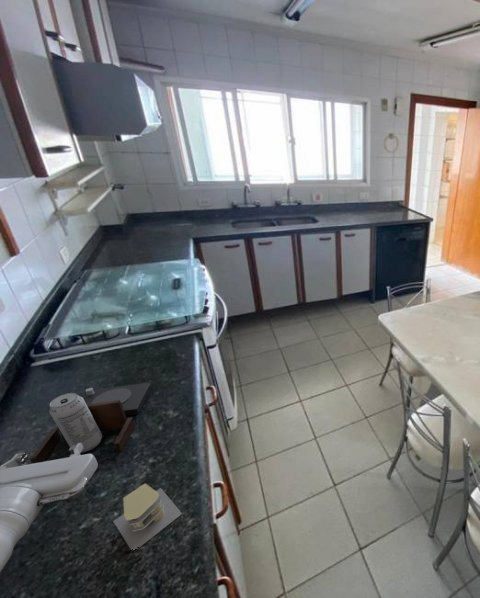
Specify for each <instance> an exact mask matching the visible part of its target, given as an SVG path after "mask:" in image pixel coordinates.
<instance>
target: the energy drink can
mask: <svg viewBox="0 0 480 598" xmlns="http://www.w3.org/2000/svg"><path fill="white" fill-rule="evenodd" d="M48 413H49V414H50V416H51V418H52V419H53V421H54V423H55V425H56V424H57V425H56V427H57V426H58V427H57V429H58V428H59V429H60V431H61V433H62V434H63V436H64V438H63V439H64V440H65V441H66V443H67V444H68V446H69V448H70V447H72V445H73V444H78V443H82V445H83V450H82V451H81V453H85V452H89V451H91V450H93V449H95V448H96V447H97V446H98V445H99V444H100V443H101V442H102V439H103V433H102V432H100V430H99V428H98V426H97V424H96V422H95V420H94V418H93V416H92V414H91V412H90V410H89V409H88V407H87V405H86V403H85V401H84V399H83V396H80V395H78V394H77V393H76V392H68V393H64V394H61V395H58V396H57V397H55V398H54V399H52V400H51V401H50V403H49V412H48ZM59 429H58V430H59ZM60 431H59V432H60ZM61 433H60V434H61Z"/></svg>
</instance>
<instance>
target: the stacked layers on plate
mask: <svg viewBox="0 0 480 598" xmlns="http://www.w3.org/2000/svg"><path fill="white" fill-rule="evenodd" d="M122 499H123V513H122V514H121V515H120V516H118V517H117V518H115V519H114V520H113V521H112V522H113V523H114V525H115V527H116V529H117V530H118V532H119V533H120V534H121V537H122V538H123V540H124V541H125V543H126V544H127V546H128V547H129V549H130V551H131V550H132V549H133V550H135V549H137V550H138V549H139V548H141V547H142V546H144V544H146V543H147V542H148V541H150V540H151V539H152V538H153V537H155V536H156V535H157V534H159V533H160V532H161V531H162V530H164V529H165V528H166V527H168V526H169V525H170V524H171V523H173V522H174V521H175V520H176V519H178V518H179V517H180V516H181V515H183V513H182V512H181V510H180V509H179V508H178V507H177V506H176V504H175V503H174V502H173V501H172V499H171V498H170V497H169V495H167V494H166V492H165V491H164V490H163V489H162V488H161V487H160V488H158V489H156V490H155V489H154V488H153V487H151V486H150V485H149V484H147V483H144V484H143V483H142V485H140V486H138V488H136V489H134V490H133V491H132V492H130V493H128V494H127V495H126V496H124V497H123V498H122ZM137 547H139V548H137Z"/></svg>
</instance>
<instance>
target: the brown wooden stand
mask: <svg viewBox="0 0 480 598" xmlns="http://www.w3.org/2000/svg"><path fill="white" fill-rule="evenodd" d="M87 407H88V409H89V410H90V412H91V414H92V416H93V418H94V420H95V422H96V424H97V426H98V428H99V430H100V432H101V433H102V432H110V431H117V430H120V431H119V433H118V435H117V437H116V439H115V440H114V442H113V446H114V449H115V451H116V453H122V452H123V450H124V448H125V446H126V444H127V442H128V440H129V439H130V436H131V434H132V432H133V430H134V429H135V427H136V424H135V421H134V418H133V417H127V416H126V415H125V413H124V410H123V407H122V404H121V402H120V400H115V401H108V402H101V403H94V404H87ZM55 425H56V427H57V428H53V429H52V430H51V431H50V432H49V433H48V434H47V436H46V437H45V438H44V440H43V441H42V442H41V444H39V446H38V447H37V449H36V450H35V451H34V453H33V454H32V455H31V456H30V458H29V460H30V461H31V464H34V463H40V462H45V461H46V459H47V458H48V456H49V455H50V453H51V452H52V451H53V449H54V448H55V447H56V445H57V444H58V443H59V441H60V440H61V439H65V438H64V436H63V434H62V433H61V431H60V429H59V428H58V426H57V424H56V423H55Z"/></svg>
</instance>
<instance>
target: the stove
mask: <svg viewBox="0 0 480 598" xmlns="http://www.w3.org/2000/svg"><path fill="white" fill-rule="evenodd" d="M152 389H153V385H152V382H150V381H149V382H143V383H142V382H141V383H135V384H126V385H118V386H111V387H104V388H96V389H94V388H93V387H88V388H86V389H85V394H84V395H83V396H82V398H83V399H84V401H85V403H86V405H87V404H94V403H101V402H108V401H115V400H120V402H121V404H122V407H123V410H124V413H125V415H126V417H128V416H134V415H139V414H140V412H141V410H142V408H143V406H144V405H145V402H146V401H147V398H148V396H149V395H150V392H151V391H152Z"/></svg>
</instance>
